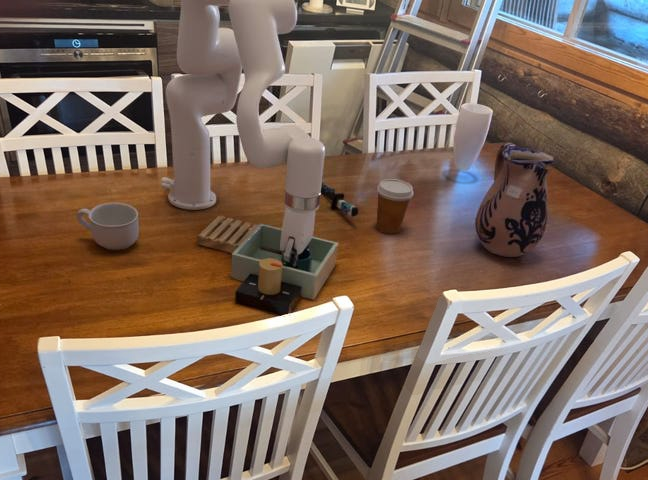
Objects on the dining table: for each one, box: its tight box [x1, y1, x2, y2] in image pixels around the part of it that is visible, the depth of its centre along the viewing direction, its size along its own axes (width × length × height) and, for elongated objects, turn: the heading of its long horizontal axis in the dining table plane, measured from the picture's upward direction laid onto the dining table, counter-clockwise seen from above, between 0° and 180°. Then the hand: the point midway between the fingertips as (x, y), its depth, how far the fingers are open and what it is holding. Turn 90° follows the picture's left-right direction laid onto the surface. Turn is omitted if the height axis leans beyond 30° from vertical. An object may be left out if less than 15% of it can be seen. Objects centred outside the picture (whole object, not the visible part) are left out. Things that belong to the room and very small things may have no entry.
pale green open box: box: [230, 223, 339, 300], centre depth 144 cm, size 20×17×6 cm
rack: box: [197, 215, 259, 254], centre depth 153 cm, size 12×12×3 cm
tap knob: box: [258, 258, 282, 295], centre depth 132 cm, size 5×5×6 cm
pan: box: [260, 246, 312, 272], centre depth 144 cm, size 12×7×5 cm, turn 73°
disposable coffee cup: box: [376, 178, 415, 234], centre depth 165 cm, size 10×10×12 cm
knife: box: [321, 181, 359, 218], centre depth 176 cm, size 31×3×4 cm, turn 20°
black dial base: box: [234, 273, 302, 316], centre depth 134 cm, size 12×9×3 cm
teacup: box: [76, 202, 140, 251], centre depth 145 cm, size 14×11×8 cm
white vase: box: [452, 102, 494, 172], centre depth 196 cm, size 10×10×22 cm
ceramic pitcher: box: [474, 142, 555, 258], centre depth 159 cm, size 18×21×25 cm
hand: (295, 270), depth 144 cm, fingers closed on pan, 6 cm apart
